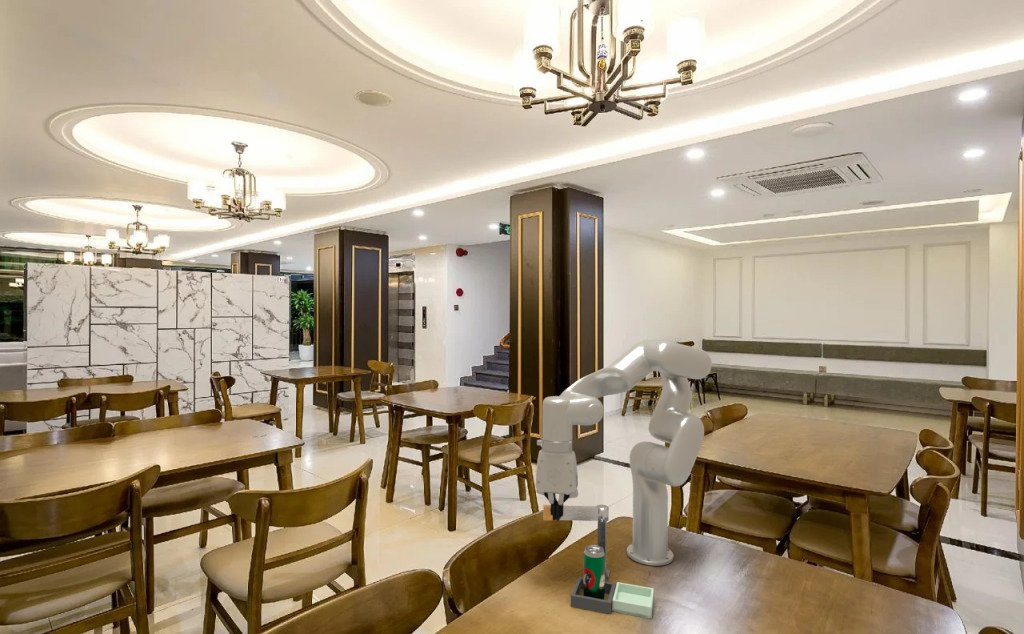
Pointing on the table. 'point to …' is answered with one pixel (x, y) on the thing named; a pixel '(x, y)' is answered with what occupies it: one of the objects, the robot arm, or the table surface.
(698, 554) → the table surface
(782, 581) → the table surface
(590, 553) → the soda can
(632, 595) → the tray
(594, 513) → the bar
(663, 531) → the robot arm
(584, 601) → the collar
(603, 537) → the post
